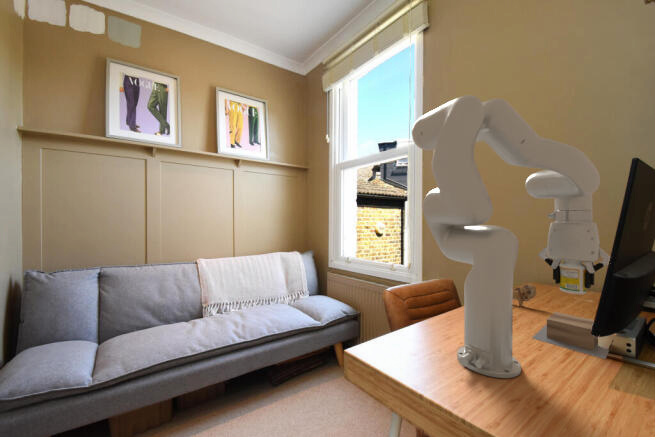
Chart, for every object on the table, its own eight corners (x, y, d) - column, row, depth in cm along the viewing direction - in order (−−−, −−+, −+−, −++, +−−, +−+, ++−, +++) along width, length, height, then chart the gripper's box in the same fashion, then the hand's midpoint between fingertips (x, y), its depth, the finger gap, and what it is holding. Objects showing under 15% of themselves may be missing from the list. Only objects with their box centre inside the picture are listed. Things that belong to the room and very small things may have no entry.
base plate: (605, 362, 63) (605, 359, 62) (531, 340, 73) (531, 338, 73) (613, 342, 73) (613, 339, 73) (547, 325, 83) (547, 323, 83)
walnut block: (592, 350, 67) (592, 329, 67) (546, 337, 74) (546, 319, 74) (598, 339, 72) (598, 320, 72) (555, 328, 79) (555, 311, 79)
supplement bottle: (570, 294, 70) (569, 257, 70) (554, 288, 76) (554, 254, 76) (592, 294, 70) (592, 257, 70) (575, 289, 75) (575, 254, 75)
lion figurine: (537, 308, 99) (537, 283, 99) (535, 312, 95) (535, 286, 95) (491, 300, 109) (491, 277, 109) (487, 303, 105) (487, 280, 105)
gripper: (529, 217, 77) (529, 281, 77) (618, 217, 64) (618, 295, 64) (537, 217, 82) (537, 277, 82) (621, 217, 68) (621, 289, 69)
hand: (572, 284), depth 73 cm, fingers closed on supplement bottle, 5 cm apart
